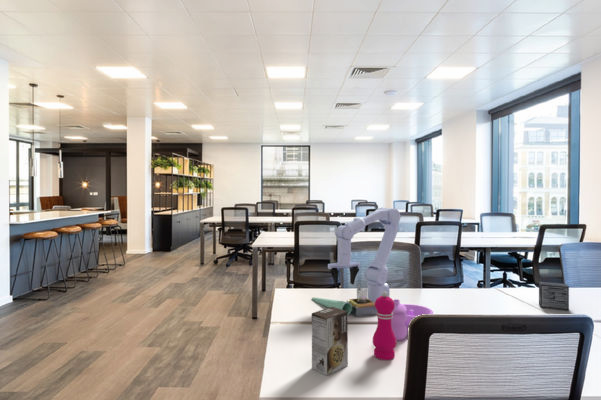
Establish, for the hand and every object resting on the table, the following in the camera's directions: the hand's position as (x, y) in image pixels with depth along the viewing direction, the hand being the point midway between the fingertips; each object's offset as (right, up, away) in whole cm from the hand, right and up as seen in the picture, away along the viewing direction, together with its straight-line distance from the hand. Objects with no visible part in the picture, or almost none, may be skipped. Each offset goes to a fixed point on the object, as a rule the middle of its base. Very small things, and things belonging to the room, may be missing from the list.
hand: (344, 284), depth 166 cm
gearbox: (+7, -11, -5) cm, 13 cm away
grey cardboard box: (-10, -12, -56) cm, 58 cm away
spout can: (+7, -7, -5) cm, 11 cm away
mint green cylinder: (-7, -11, +3) cm, 13 cm away
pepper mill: (+7, -12, -48) cm, 50 cm away
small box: (+93, -11, +3) cm, 93 cm away
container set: (+20, -11, -26) cm, 35 cm away
